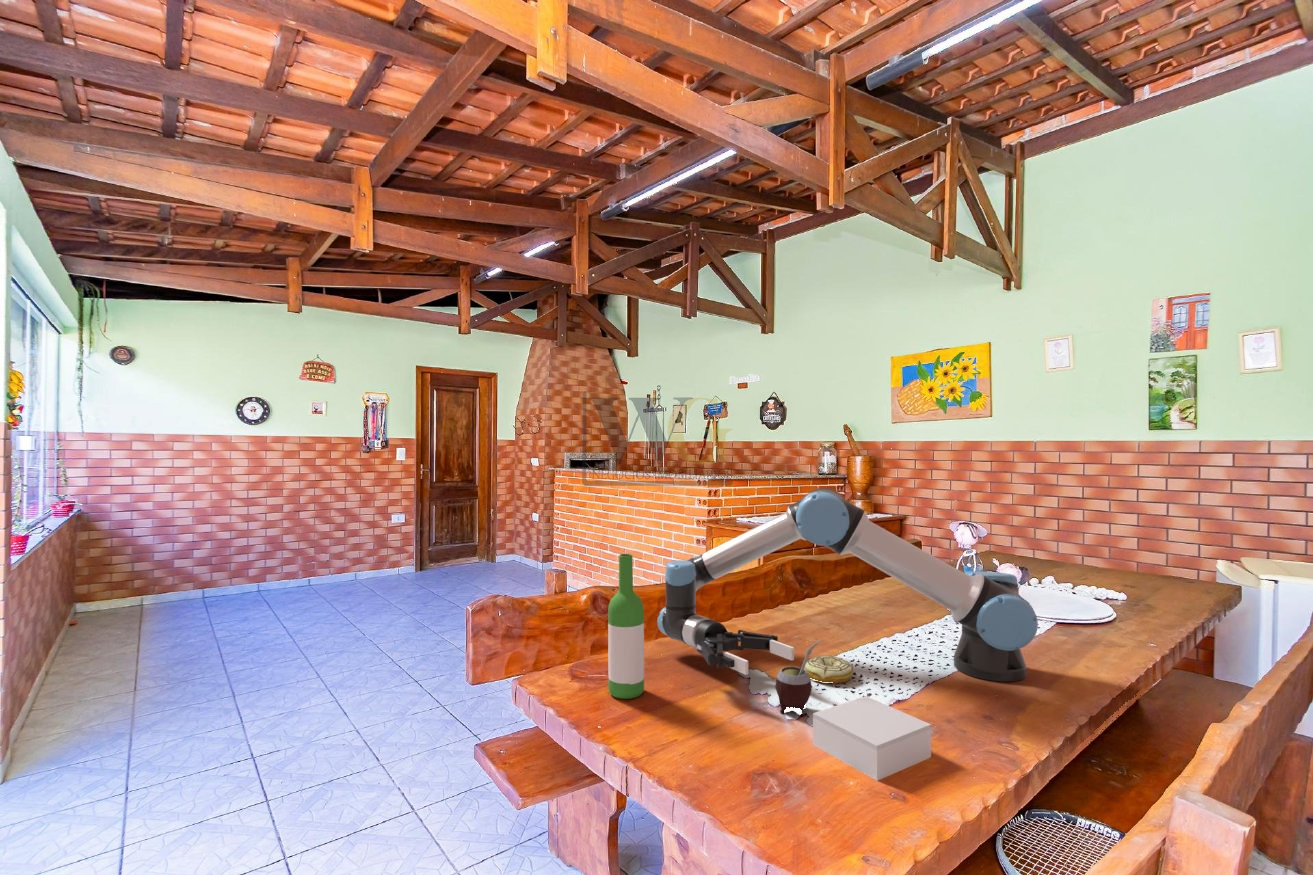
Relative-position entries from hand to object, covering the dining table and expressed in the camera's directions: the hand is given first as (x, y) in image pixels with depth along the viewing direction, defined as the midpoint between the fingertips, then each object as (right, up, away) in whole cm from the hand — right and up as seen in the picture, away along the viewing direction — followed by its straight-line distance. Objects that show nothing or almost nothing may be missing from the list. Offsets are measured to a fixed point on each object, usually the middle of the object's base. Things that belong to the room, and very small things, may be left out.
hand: (770, 660), depth 133 cm
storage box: (+14, -9, -21) cm, 27 cm away
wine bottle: (-31, -9, +4) cm, 32 cm away
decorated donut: (+16, -9, +13) cm, 22 cm away
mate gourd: (+4, -8, -5) cm, 11 cm away
